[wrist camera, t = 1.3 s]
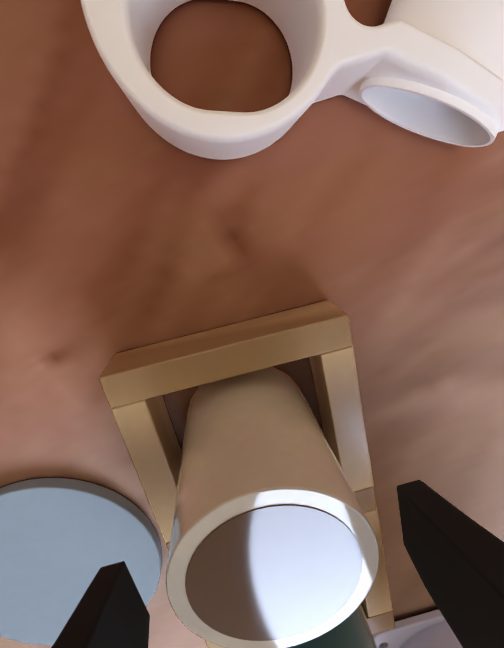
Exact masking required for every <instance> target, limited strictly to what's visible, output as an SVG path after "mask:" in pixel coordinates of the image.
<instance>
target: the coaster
mask: <svg viewBox="0 0 504 648" xmlns="http://www.w3.org/2000/svg"><path fill="white" fill-rule="evenodd" d="M122 561H125V563H126V566H127V568H128V570H129V572H130V574H131V576H132V578H133V581H134V583H135V585H136V587H137V589H138V591H139V594H140V596H141V598H142V600H143V602H144V604H145V606H146V605H147V604H148V603H149V601H150V600H151V598H152V596H153V595H154V593H155V591H156V588H157V586H158V583H159V578H160V573H161V566H162V550H161V544H160V541H159V538H158V535H157V533H156V531H155V529H154V527H153V525H152V523H151V522H150V521H149V519H148V518H147V516H146V515H145V514H144V513H143V512H142V511H141V510H140V509H139V508H138V507H137V506H135V505H134V504H133V503H132V502H130V501H129V500H128V499H126V498H125V497H123V496H121V495H120V494H118V493H116V492H114V491H112V490H110V489H107V488H105V487H102V486H99V485H96V484H93V483H90V482H85V481H81V480H76V479H67V478H40V479H31V480H26V481H21V482H17V483H13V484H10V485H7V486H4V487H2V488H0V636H1V637H5V638H8V639H11V640H14V641H19V642H24V643H30V644H38V645H53V644H54V643H55V641H56V640H57V638H58V636H59V635H60V633H61V631H62V630H63V628H64V626H65V625H66V623H67V622H68V620H69V618H70V617H71V615H72V613H73V612H74V610H75V608H76V607H77V605H78V603H79V602H80V600H81V598H82V597H83V595H84V593H85V592H86V590H87V588H88V587H89V585H90V584H91V582H92V580H93V579H94V577H95V576H96V574H97V572H98V571H99V569H100V568H101V567H104V566H107V565H111V564H115V563H118V562H122Z"/></svg>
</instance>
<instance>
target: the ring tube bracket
mask: <svg viewBox="0 0 504 648" xmlns="http://www.w3.org/2000/svg"><path fill="white" fill-rule="evenodd" d="M80 1H81V5H82V9H83V13H84V17H85V20H86V23H87V26H88V29H89V32H90V34H91V37H92V39H93V42H94V44H95V46H96V48H97V51H98V53H99V55H100V57H101V58H102V60H103V62H104V64H105V66H106V67H107V69H108V70H109V72H110V74H111V75H112V77H113V78H114V79H115V81H116V82H117V84H118V85H119V87H120V88H121V89H122V91H123V92H124V94H125V95H126V96H127V98H128V99H129V101H130V102H131V103H132V105H133V106H134V108H135V109H136V110H137V112H138V113H139V115H140V116H141V117H142V118H143V120H144V121H145V122H146V123H147V124H148V125H149V126H150V127H151V128H152V129H153V130H154V131H155V132H156V133H157V134H158V135H159V136H161V137H162V138H163V139H165V140H166V141H167V142H169V143H170V144H172V145H173V146H175V147H177V148H179V149H181V150H183V151H185V152H187V153H190V154H193V155H196V156H199V157H203V158H208V159H217V160H228V159H237V158H242V157H246V156H249V155H252V154H255V153H257V152H259V151H261V150H263V149H265V148H267V147H269V146H270V145H272V144H273V143H274V142H276V141H277V140H278V139H280V138H281V137H282V136H283V135H284V134H285V133H286V132H287V131H288V130H289V129H290V128H291V127H292V126H293V124H294V123H295V122H296V121H297V120H298V119H299V118H300V117H301V115H302V114H303V113H304V112H305V111H306V110H307V109H308V108H309V106H310V105H311V104H312V103H315V102H319V101H322V100H325V99H328V98H331V97H334V96H337V95H344V96H346V97H349V98H351V99H353V100H355V101H358V102H360V103H362V104H364V105H367V106H368V107H369V108H370V109H371V110H373V111H374V112H376V113H377V114H378V115H380V116H381V117H383V118H385V119H386V120H388V121H390V122H392V123H394V124H396V125H398V126H400V127H402V128H404V129H407V130H409V131H411V132H414V133H417V134H419V135H422V136H425V137H428V138H431V139H435V140H438V141H442V142H446V143H450V144H455V145H460V146H466V147H482V146H487V145H489V144H491V143H493V141H494V140H495V137H496V135H497V133H498V132H501V131H504V0H392V2H391V5H390V7H389V10H388V13H387V16H386V18H385V21H384V24H382V25H379V26H375V27H369V26H365V25H362V24H360V23H359V22H357V21H356V20H355V19H354V18H353V17H352V16H351V15H350V13H349V11H348V10H347V7H346V5H345V2H344V0H230V1H239V2H244V3H247V4H250V5H252V6H254V7H256V8H258V9H260V10H261V11H263V12H264V13H265V14H267V15H268V16H269V17H270V18H271V19H272V20H273V21H274V22H275V24H276V25H277V26H278V28H279V29H280V31H281V32H282V34H283V36H284V38H285V40H286V42H287V45H288V48H289V51H290V55H291V60H292V84H291V90H290V93H289V96H288V97H286V98H285V99H284V100H282V101H281V102H279V103H278V104H276V105H274V106H272V107H270V108H267V109H264V110H261V111H256V112H246V113H245V112H227V111H211V110H203V109H198V108H195V107H192V106H189V105H187V104H184V103H182V102H181V101H179V100H177V99H176V98H174V97H173V96H171V95H170V94H169V93H167V92H166V91H165V90H164V89H163V88H162V87H161V86H160V85H159V84H158V83H157V82H156V81H155V80H154V78H153V77H152V76H151V69H150V54H151V47H152V43H153V39H154V36H155V34H156V32H157V29H158V28H159V26H160V24H161V23H162V21H163V20H164V19H165V17H166V16H167V15H168V14H169V13H170V12H171V11H172V10H174V9H175V8H176V7H178V6H179V5H181V4H183V3H185V2H188V1H191V0H80Z"/></svg>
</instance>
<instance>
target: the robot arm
mask: <svg viewBox="0 0 504 648" xmlns="http://www.w3.org/2000/svg"><path fill="white" fill-rule="evenodd" d="M397 493H398V501H399V509H400V517H401V525H402V533H403V542H404V545H405V547H406V549H407V552H408V554H409V556H410V558H411V560H412V562H413V564H414V566H415V568H416V570H417V572H418V574H419V576H420V578H421V579H422V581H423V583H424V585H425V587H426V589H427V591H428V592H429V594H430V596H431V597H432V599H433V601H434V602H435V604H436V605H437V607H438V609H437V610H434V611H430V612H427V613H423V614H420V615H416V616H413V617H409V618H406V619H402V620H399V621H396V622H394V623H395V628H394V629H390V630H387V631H383V632H380V633H376V634H373V637H374V639H375V642H376V645H377V647H378V648H504V542H503V541H501V540H500V539H499V538H497V537H496V536H494V535H493V534H491V533H490V532H489V531H487V530H486V529H484V528H483V527H482V526H480V525H479V524H478V523H476V522H475V521H473V520H472V519H471V518H469V517H468V516H467V515H465V514H464V513H463V512H461V511H460V510H459V509H457V508H456V507H455V506H453V505H452V504H451V503H449V502H448V501H447V500H446V499H444V498H443V497H442V496H440V495H439V494H438V493H436V492H435V491H434V490H433V489H431V488H430V487H429V486H427V485H426V484H425V483H424V482H422V481H420V480H416V481H413V482H409V483H406V484H402V485H398V486H397ZM149 620H150V615H149V613H148V611H147V609H146V606H145V604H144V602H143V600H142V598H141V596H140V594H139V591H138V589H137V587H136V585H135V583H134V581H133V578H132V576H131V574H130V572H129V570H128V568H127V566H126V563H125V561H122V562H118V563H115V564H111V565H107V566H104V567H101V568H100V569H99V571H98V572H97V574H96V576H95V577H94V579H93V580H92V582H91V584H90V585H89V587H88V588H87V590H86V592H85V593H84V595H83V597H82V598H81V600H80V602H79V603H78V605H77V607H76V608H75V610H74V612H73V613H72V615H71V617H70V618H69V620H68V622H67V623H66V625H65V626H64V628H63V630H62V631H61V633H60V635H59V636H58V638H57V640H56V641H55V643H54V644H53V646H52V648H148V638H149Z"/></svg>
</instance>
